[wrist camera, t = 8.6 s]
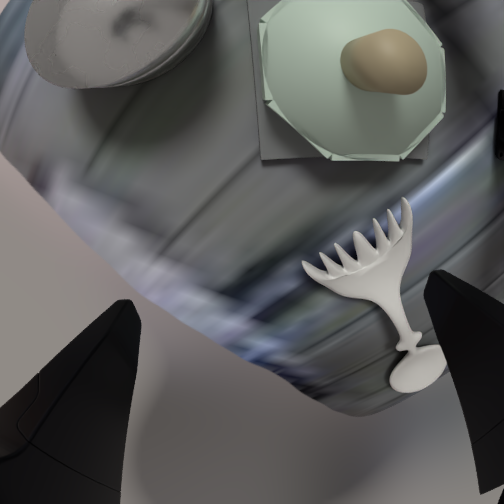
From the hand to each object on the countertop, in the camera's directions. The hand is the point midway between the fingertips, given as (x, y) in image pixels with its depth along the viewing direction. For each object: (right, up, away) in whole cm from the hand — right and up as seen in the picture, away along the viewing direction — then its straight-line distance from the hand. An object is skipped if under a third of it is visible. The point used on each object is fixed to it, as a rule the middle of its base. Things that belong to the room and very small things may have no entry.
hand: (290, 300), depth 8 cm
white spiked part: (+15, -6, +20) cm, 25 cm away
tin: (-8, +16, +4) cm, 18 cm away
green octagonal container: (+5, +12, +6) cm, 15 cm away
